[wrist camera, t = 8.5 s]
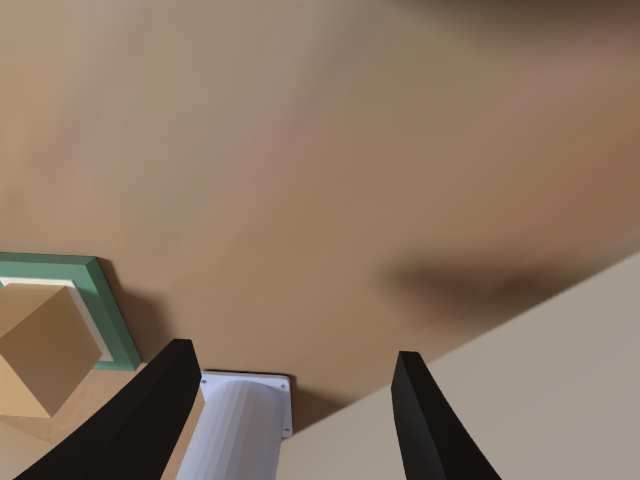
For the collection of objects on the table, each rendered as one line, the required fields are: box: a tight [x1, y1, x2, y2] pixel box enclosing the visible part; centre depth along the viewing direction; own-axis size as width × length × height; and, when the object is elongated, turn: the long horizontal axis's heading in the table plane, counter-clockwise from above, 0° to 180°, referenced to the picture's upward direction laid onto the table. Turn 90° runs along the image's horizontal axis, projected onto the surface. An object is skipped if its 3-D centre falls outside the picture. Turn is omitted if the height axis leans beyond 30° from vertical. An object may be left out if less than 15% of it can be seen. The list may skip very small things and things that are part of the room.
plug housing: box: [0, 283, 103, 418], centre depth 20 cm, size 7×4×5 cm, turn 179°
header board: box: [0, 252, 142, 371], centre depth 22 cm, size 11×8×4 cm
